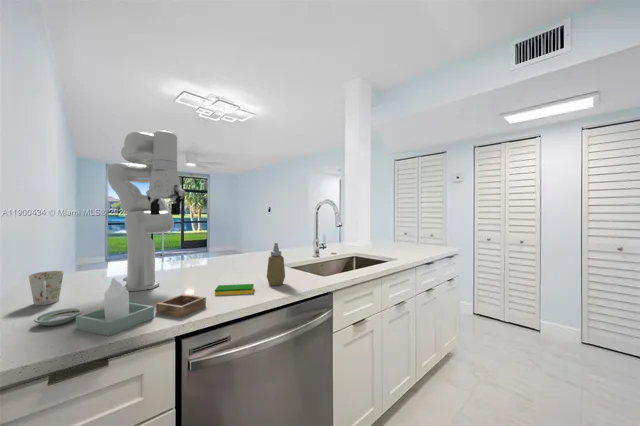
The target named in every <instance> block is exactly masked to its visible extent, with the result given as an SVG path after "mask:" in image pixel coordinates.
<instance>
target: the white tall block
mask: <svg viewBox="0 0 640 426" xmlns="http://www.w3.org/2000/svg"><path fill="white" fill-rule="evenodd" d="M129 292H130V291H127V290H126V289H125V287H124V285H123V284H122V283H121V282H120V281H118V280H117V279H116V278H115V277H112V279H111V281H110V285H109V286H108V288H107V290H106V291H105V292H104V295H103V297H104V299H103V301H104V307H103V308H104V313H105V320H106V321H112V320H115V319H117V318H120V317H123V316H126V315H128V314H129V302H130V293H129Z"/></svg>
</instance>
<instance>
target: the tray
mask: <svg viewBox="0 0 640 426" xmlns="http://www.w3.org/2000/svg"><path fill="white" fill-rule="evenodd" d="M154 312H155V305H154V306H153V305H147V304H141V303H134V302H130V301H129V314H128V315H126V316H123V317H120V318H117V319H115V320H112V321H106V320H105V313H104V307H102V308H99V309H98V308H97V309H96V310H91V311H90V312H86V313H81V314H79V315H78V316H76V318H75V330H79V331H80V330H81V331H85V332H90V333H94V334H97V335H103V336H107V337H109V336H111V335H114V334H117V333H119V332H122V331H124V330H126V329H130V328H132V327H134V326H136V325H138V324H139V325H140V324H141V323H144V322H146V321H149V320H151V319H153V318H154V317H155V313H154Z"/></svg>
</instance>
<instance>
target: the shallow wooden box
mask: <svg viewBox="0 0 640 426" xmlns="http://www.w3.org/2000/svg"><path fill="white" fill-rule="evenodd" d="M206 303H207V297H206V296H200V295H199V296H198V295H190V294H183V293H181V294H179V295H176V296H174V297H170V298H168V299H165V300H163V301H159V302H156V304H155V308H156V309H155V313H156V314H159V315H165V316H170V317H176V318H183V317H186V316H188V315H190V314H192V313H195V312H197V311H199V310H201V309H204V308H205V307H206V306H207V304H206Z"/></svg>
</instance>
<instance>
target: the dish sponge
mask: <svg viewBox="0 0 640 426" xmlns="http://www.w3.org/2000/svg"><path fill="white" fill-rule="evenodd" d="M253 292H254V283H247V284H246V283H245V284H241V283H240V284H223V285H222V284H220V285H217V286H216V287H215V289H214V296H229V295H231V296H233V295H251V294H253Z"/></svg>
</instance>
